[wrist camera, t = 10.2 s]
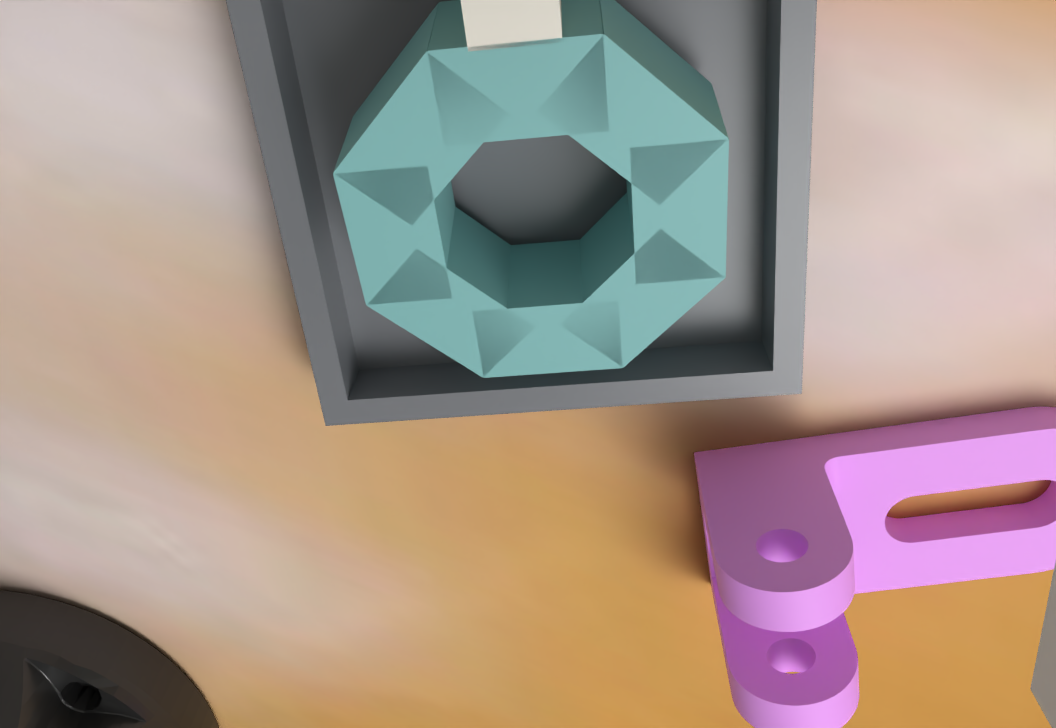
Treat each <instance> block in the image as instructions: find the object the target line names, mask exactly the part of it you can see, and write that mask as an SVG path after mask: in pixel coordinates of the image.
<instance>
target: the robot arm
mask: <svg viewBox="0 0 1056 728" xmlns="http://www.w3.org/2000/svg"><path fill="white" fill-rule="evenodd" d="M1031 691H1032V693H1033V694H1034V696H1035V698H1036V700H1037V702H1038V704H1039V705H1040V707H1041V709H1042V711H1043V713H1044V714H1045V716H1046V718H1047V720H1048V722H1049V723H1050V725H1051V727H1052V728H1056V562H1055V567H1054V572H1053V577H1052V582H1051V587H1050V592H1049V597H1048V602H1047V608H1046V613H1045V618H1044V623H1043V628H1042V633H1041V638H1040V643H1039V648H1038V653H1037V658H1036V663H1035V668H1034V674H1033V679H1032V684H1031ZM0 728H219V726H218V724H217V722H216V719H215V717H214V715H213V713H212V711H211V709H210V707H209V706H208V704H207V703H206V701H205V699H204V698H203V696H202V695H201V694H200V692H199V691H198V690H197V688H196V687H195V686H194V685H193V683H192V682H191V681H190V680H189V679H188V678H187V676H186V675H185V674H184V673H183V672H182V671H181V670H180V669H179V668H178V667H177V666H175V665H174V664H173V663H172V662H171V661H170V660H169V659H168V658H166V657H165V656H164V655H163V654H161V653H160V652H159V651H158V650H156V649H155V648H154V647H152V646H151V645H149V644H148V643H147V642H145V641H144V640H142V639H141V638H139V637H137V636H136V635H134V634H133V633H131V632H129V631H127V630H126V629H124V628H122V627H120V626H118V625H117V624H115V623H112V622H110V621H108V620H106V619H104V618H102V617H100V616H97V615H95V614H93V613H90V612H88V611H85V610H83V609H80V608H77V607H74V606H72V605H68V604H65V603H62V602H59V601H55V600H52V599H48V598H44V597H40V596H35V595H30V594H25V593H18V592H11V591H2V590H0Z"/></svg>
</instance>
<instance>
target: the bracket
mask: <svg viewBox="0 0 1056 728" xmlns="http://www.w3.org/2000/svg"><path fill="white" fill-rule="evenodd" d="M694 457H695V465H696V473H697V480H698V488H699V496H700V503H701V511H702V519H703V527H704V534H705V542H706V550H707V557H708V565H709V573H710V581H711V587H712V592H713V598H714V603H715V608H716V614H717V619H718V624H719V630H720V635H721V640H722V646H723V651H724V656H725V662H726V667H727V672H728V678H729V683H730V688H731V694H732V698H733V702H734V704H735V706H736V708H737V710H738V711H739V713H740V714H741V716H742V717H743V718H744V719H745V720H746V721H747V722H749V723H750V724H751V725H752V726H754V727H755V728H841V727H842V726H843V725H844V724H846V723H847V722H848V721H849V719H850V718H851V717H852V716H853V714H854V712H855V710H856V708H857V705H858V701H859V676H858V656H857V651H856V648H855V645H854V642H853V639H852V636H851V633H850V630H849V627H848V624H847V622H846V619H845V616H844V613H843V612H844V611H845V610H846V609H847V607H848V606H849V605H850V603H851V601H852V599H853V596H854V594H856V593H865V592H873V591H882V590H890V589H899V588H908V587H916V586H925V585H933V584H942V583H951V582H959V581H968V580H977V579H985V578H994V577H1002V576H1011V575H1020V574H1028V573H1036V572H1042V571H1047V570H1051V569H1054V567H1055V562H1056V407H1028V408H1020V409H1012V410H1005V411H998V412H990V413H983V414H975V415H968V416H961V417H953V418H946V419H938V420H931V421H923V422H916V423H909V424H901V425H894V426H886V427H879V428H872V429H864V430H857V431H849V432H842V433H835V434H827V435H820V436H812V437H805V438H798V439H790V440H783V441H775V442H768V443H761V444H753V445H746V446H738V447H731V448H723V449H716V450H709V451H701V452H694ZM1037 480H1052V481H1051V483H1050V486H1049V487H1048V489H1047V490H1046V491H1045V492H1044V493H1043V494H1042V495H1041V496H1039V497H1038V498H1036V499H1034V500H1032V501H1029V502H1026V503H1021V504H1013V505H1005V506H997V507H989V508H981V509H973V510H965V511H957V512H949V513H941V514H933V515H925V516H916V517H908V518H891V517H888V516H886V515H887V513H888V511H889V510H890V509H891V507H892V506H893V505H895V504H896V503H897V502H899V501H901V500H903V499H905V498H908V497H912V496H918V495H926V494H934V493H942V492H950V491H958V490H966V489H974V488H981V487H989V486H997V485H1005V484H1013V483H1021V482H1029V481H1037ZM785 672H801V673H797V674H787V673H785Z"/></svg>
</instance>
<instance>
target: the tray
mask: <svg viewBox="0 0 1056 728" xmlns="http://www.w3.org/2000/svg"><path fill="white" fill-rule="evenodd" d="M442 1H452V0H226V3H227V7H228V11H229V16H230V20H231V24H232V28H233V33H234V37H235V41H236V45H237V50H238V54H239V58H240V62H241V67H242V71H243V75H244V79H245V84H246V88H247V92H248V97H249V101H250V105H251V109H252V114H253V118H254V122H255V126H256V131H257V135H258V139H259V143H260V148H261V152H262V156H263V160H264V165H265V169H266V173H267V178H268V182H269V186H270V190H271V195H272V199H273V203H274V207H275V212H276V216H277V220H278V224H279V229H280V233H281V237H282V241H283V246H284V250H285V254H286V259H287V263H288V267H289V271H290V276H291V280H292V284H293V288H294V293H295V297H296V301H297V305H298V310H299V314H300V318H301V322H302V327H303V331H304V335H305V340H306V344H307V348H308V352H309V357H310V361H311V365H312V369H313V374H314V378H315V382H316V386H317V391H318V395H319V399H320V403H321V408H322V412H323V416H324V421H325V425H326V426H330V425H344V424H359V423H374V422H389V421H404V420H419V419H433V418H448V417H463V416H478V415H493V414H508V413H523V412H537V411H552V410H567V409H582V408H597V407H612V406H626V405H641V404H656V403H671V402H686V401H701V400H716V399H730V398H745V397H760V396H775V395H790V394H802V373H803V347H804V321H805V295H806V269H807V243H808V217H809V191H810V165H811V139H812V113H813V87H814V61H815V35H816V9H817V0H615V1H616V2H617V3H619V4H620V5H621V6H622V7H623V8H624V9H626V10H627V11H628V12H629V13H630V14H631V15H633V16H634V17H635V18H636V19H637V20H638V21H640V22H641V23H642V24H643V25H644V26H645V27H647V28H648V29H649V30H650V31H651V32H652V33H654V34H655V35H656V36H657V37H658V38H659V39H661V40H662V41H663V42H664V43H665V44H666V45H668V46H669V47H670V48H671V49H672V50H673V51H674V52H676V53H677V54H678V55H679V56H680V57H681V58H683V59H684V60H685V61H686V62H687V63H688V64H690V65H691V66H692V67H693V68H694V69H695V70H697V71H698V72H699V73H700V74H701V75H702V76H704V77H705V78H706V79H707V80H708V81H709V82H711V84H712V86H713V90H714V93H715V96H716V99H717V102H718V106H719V109H720V112H721V115H722V119H723V122H724V125H725V128H726V131H727V135H728V138H729V159H728V201H727V243H726V277H725V279H724V280H722V281H721V282H720V283H719V284H718V285H717V286H716V287H714V288H713V289H712V290H711V291H710V292H709V293H708V294H707V295H705V296H704V297H703V298H702V299H701V300H700V301H699V302H697V303H696V304H695V305H694V306H693V307H692V308H691V309H689V310H688V311H687V312H686V313H685V314H684V315H683V316H682V317H680V318H679V319H678V320H677V321H676V322H675V323H674V324H672V325H671V326H670V327H669V328H668V329H667V330H666V331H665V332H663V333H662V334H661V335H660V336H659V337H658V338H657V339H655V340H654V341H653V342H652V343H651V344H650V345H649V346H647V347H646V348H645V349H644V350H643V351H642V352H641V353H640V354H638V355H637V356H636V357H635V358H634V359H633V360H632V361H630V362H629V363H628V364H627V365H626V366H625V367H624V368H623V367H622V368H617V369H603V370H589V371H574V372H560V373H546V374H532V375H518V376H504V377H490V378H484V377H481V376H479V375H478V374H476V373H474V372H473V371H471V370H470V369H468V368H466V367H465V366H463V365H462V364H460V363H458V362H457V361H455V360H453V359H452V358H450V357H449V356H447V355H445V354H444V353H442V352H441V351H439V350H437V349H436V348H434V347H433V346H431V345H429V344H428V343H426V342H424V341H423V340H421V339H420V338H418V337H416V336H415V335H413V334H412V333H410V332H408V331H407V330H405V329H403V328H402V327H400V326H399V325H397V324H395V323H394V322H392V321H391V320H389V319H387V318H386V317H384V316H383V315H381V314H379V313H378V312H376V311H374V310H373V309H371V308H370V307H368V306H367V305H366V303H365V299H364V295H363V291H362V287H361V283H360V279H359V275H358V271H357V267H356V263H355V259H354V255H353V252H352V248H351V244H350V240H349V236H348V232H347V228H346V224H345V220H344V216H343V212H342V208H341V204H340V200H339V196H338V192H337V188H336V184H335V180H334V176H333V172H334V169H335V166H336V163H337V160H338V158H339V155H340V152H341V149H342V146H343V143H344V140H345V138H346V135H347V132H348V129H349V126H350V123H351V121H352V118H353V116H354V114H355V113H356V112H357V110H358V109H359V108H360V106H361V105H362V104H363V102H364V101H365V100H366V98H367V97H368V96H369V94H370V93H371V92H372V90H373V89H374V88H375V86H376V85H377V84H378V82H379V81H380V80H381V78H382V77H383V76H384V74H385V73H386V72H387V70H388V69H389V68H390V66H391V65H392V64H393V62H394V61H395V60H396V58H397V57H398V56H399V54H400V53H401V52H402V50H403V49H404V48H405V46H406V45H407V44H408V42H409V41H410V40H411V38H412V37H413V36H414V34H415V33H416V32H417V30H418V29H419V28H420V26H421V25H422V24H423V22H424V21H425V20H426V18H427V17H428V16H429V14H430V13H431V12H432V10H433V9H434V8H435V7H436V5H437V4H438V3H439V2H442ZM451 184H452V190H453V196H454V201H455V207H457V208H458V209H460V210H461V211H462V212H464V213H465V214H467V215H468V216H470V217H471V218H472V219H474V220H475V221H477V222H478V223H480V224H481V225H483V226H484V227H485V228H487V229H488V230H490V231H491V232H493V233H494V234H496V235H497V236H498V237H500V238H501V239H503V240H504V241H506V242H507V243H508V244H510V245H520V244H532V243H544V242H557V241H569V240H580V239H581V238H582V237H583V236H584V235H585V234H586V233H587V232H588V231H589V230H590V229H591V228H592V227H593V226H594V225H595V224H596V223H597V222H598V221H599V220H600V219H601V218H602V217H603V216H604V215H605V214H606V213H607V212H608V211H609V210H610V209H611V208H612V207H613V206H614V205H615V204H616V203H617V202H618V201H619V200H620V199H621V198H622V197H623V196H624V195H625V194H626V193H627V184H626V179H625V178H624V177H622V176H621V175H620V174H619V173H617V172H616V171H615V170H613V169H612V168H611V167H609V166H608V165H607V164H606V163H604V162H603V161H602V160H600V159H599V158H598V157H596V156H595V155H594V154H593V153H591V152H590V151H589V150H587V149H586V148H585V147H583V146H582V145H581V144H580V143H578V142H577V141H576V140H574V139H573V138H572V137H570V136H569V135H561V136H549V137H538V138H527V139H516V140H505V141H493V142H483V144H482V145H481V146H480V147H479V148H478V149H477V151H476V152H475V153H474V154H473V155H472V156H471V158H470V159H469V160H468V161H467V162H466V163H465V165H464V166H463V167H462V168H461V169H460V170H459V172H458V173H457V174H456V175H455V176H454V177H453V179H452V180H451Z"/></svg>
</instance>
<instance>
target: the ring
mask: <svg viewBox="0 0 1056 728" xmlns="http://www.w3.org/2000/svg"><path fill="white" fill-rule="evenodd" d="M561 135H569V136H570V137H572V138H573V139H574V140H576V141H577V142H578V143H580V144H581V145H582V146H583V147H585V148H586V149H587V150H589V151H590V152H591V153H593V154H594V155H595V156H596V157H598V158H599V159H600V160H602V161H603V162H604V163H606V164H607V165H608V166H609V167H611V168H612V169H613V170H615V171H616V172H617V173H619V174H620V175H621V176H622V177H624V178H625V179H626V184H627V193H626V194H625V195H624V196H623V197H622V198H621V199H620V200H619V201H618V202H617V203H616V204H615V205H614V206H613V207H612V208H611V209H610V210H609V211H608V212H607V213H606V214H605V215H604V216H603V217H602V218H601V219H600V220H599V221H598V222H597V223H596V224H595V225H594V226H593V227H592V228H591V229H590V230H589V231H588V232H587V233H586V234H585V235H584V236H583V237H582V238H581V239H580V240H569V241H557V242H544V243H532V244H520V245H510V244H508V243H507V242H506V241H504V240H503V239H501V238H500V237H498V236H497V235H496V234H494V233H493V232H491V231H490V230H488V229H487V228H485V227H484V226H483V225H481V224H480V223H478V222H477V221H475V220H474V219H472V218H471V217H470V216H468V215H467V214H465V213H464V212H462V211H461V210H460V209H458V208H457V207H455V201H454V196H453V190H452V184H451V180H452V179H453V177H454V176H455V175H456V174H457V173H458V172H459V170H460V169H461V168H462V167H463V166H464V165H465V163H466V162H467V161H468V160H469V159H470V158H471V156H472V155H473V154H474V153H475V152H476V151H477V149H478V148H479V147H480V146H481V145H482V144H483V142H493V141H505V140H516V139H527V138H538V137H549V136H561ZM728 159H729V138H728V135H727V131H726V128H725V125H724V122H723V119H722V115H721V112H720V109H719V106H718V102H717V99H716V96H715V93H714V90H713V86H712V84H711V82H709V81H708V80H707V79H706V78H705V77H704V76H702V75H701V74H700V73H699V72H698V71H697V70H695V69H694V68H693V67H692V66H691V65H690V64H688V63H687V62H686V61H685V60H684V59H683V58H681V57H680V56H679V55H678V54H677V53H676V52H674V51H673V50H672V49H671V48H670V47H669V46H668V45H666V44H665V43H664V42H663V41H662V40H661V39H659V38H658V37H657V36H656V35H655V34H654V33H652V32H651V31H650V30H649V29H648V28H647V27H645V26H644V25H643V24H642V23H641V22H640V21H638V20H637V19H636V18H635V17H634V16H633V15H631V14H630V13H629V12H628V11H627V10H626V9H624V8H623V7H622V6H621V5H620V4H619V3H617V2H616V1H615V0H452V1H442V2H439V3H438V4H437V5H436V7H435V8H434V9H433V10H432V12H431V13H430V14H429V16H428V17H427V18H426V20H425V21H424V22H423V24H422V25H421V26H420V28H419V29H418V30H417V32H416V33H415V34H414V36H413V37H412V38H411V40H410V41H409V42H408V44H407V45H406V46H405V48H404V49H403V50H402V52H401V53H400V54H399V56H398V57H397V58H396V60H395V61H394V62H393V64H392V65H391V66H390V68H389V69H388V70H387V72H386V73H385V74H384V76H383V77H382V78H381V80H380V81H379V82H378V84H377V85H376V86H375V88H374V89H373V90H372V92H371V93H370V94H369V96H368V97H367V98H366V100H365V101H364V102H363V104H362V105H361V106H360V108H359V109H358V110H357V112H356V113H355V114H354V116H353V118H352V121H351V123H350V126H349V129H348V132H347V135H346V138H345V140H344V143H343V146H342V149H341V152H340V155H339V158H338V160H337V163H336V166H335V169H334V172H333V176H334V180H335V184H336V188H337V192H338V196H339V200H340V204H341V208H342V212H343V216H344V220H345V224H346V228H347V232H348V236H349V240H350V244H351V248H352V252H353V255H354V259H355V263H356V267H357V271H358V275H359V279H360V283H361V287H362V291H363V295H364V299H365V303H366V305H367V306H368V307H370V308H371V309H373V310H374V311H376V312H378V313H379V314H381V315H383V316H384V317H386V318H387V319H389V320H391V321H392V322H394V323H395V324H397V325H399V326H400V327H402V328H403V329H405V330H407V331H408V332H410V333H412V334H413V335H415V336H416V337H418V338H420V339H421V340H423V341H424V342H426V343H428V344H429V345H431V346H433V347H434V348H436V349H437V350H439V351H441V352H442V353H444V354H445V355H447V356H449V357H450V358H452V359H453V360H455V361H457V362H458V363H460V364H462V365H463V366H465V367H466V368H468V369H470V370H471V371H473V372H474V373H476V374H478V375H479V376H481V377H484V378H490V377H504V376H518V375H532V374H546V373H560V372H574V371H589V370H603V369H617V368H622V367H623V368H624V367H625V366H626V365H627V364H628V363H629V362H630V361H632V360H633V359H634V358H635V357H636V356H637V355H638V354H640V353H641V352H642V351H643V350H644V349H645V348H646V347H647V346H649V345H650V344H651V343H652V342H653V341H654V340H655V339H657V338H658V337H659V336H660V335H661V334H662V333H663V332H665V331H666V330H667V329H668V328H669V327H670V326H671V325H672V324H674V323H675V322H676V321H677V320H678V319H679V318H680V317H682V316H683V315H684V314H685V313H686V312H687V311H688V310H689V309H691V308H692V307H693V306H694V305H695V304H696V303H697V302H699V301H700V300H701V299H702V298H703V297H704V296H705V295H707V294H708V293H709V292H710V291H711V290H712V289H713V288H714V287H716V286H717V285H718V284H719V283H720V282H721V281H722V280H724V279H725V277H726V243H727V201H728Z"/></svg>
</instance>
